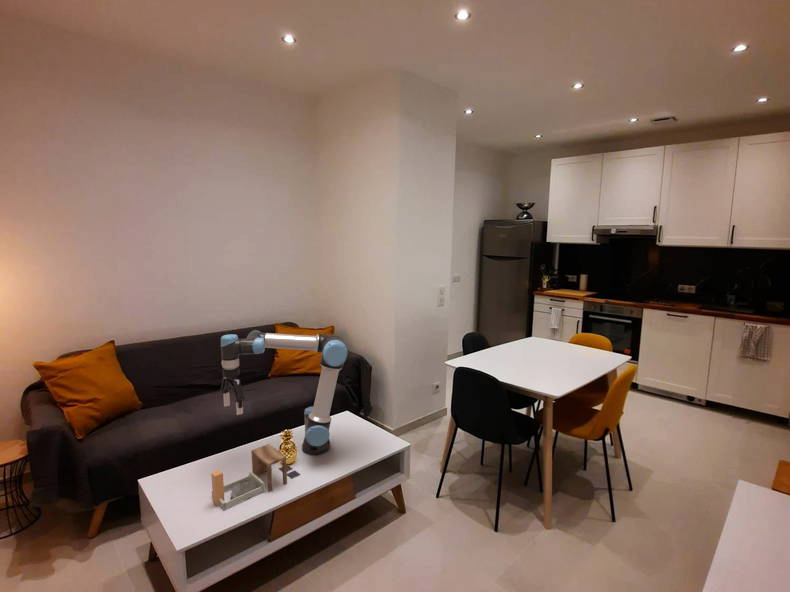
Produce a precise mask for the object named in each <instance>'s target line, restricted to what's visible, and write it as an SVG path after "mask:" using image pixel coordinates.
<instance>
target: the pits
mask: <svg viewBox="0 0 790 592" xmlns="http://www.w3.org/2000/svg"><path fill="white" fill-rule="evenodd" d="M293 469H294V468H293V467H291V466H290V465H289V466H287V478H289V477H290V478H289V479H291V480H293V479H294V477H295V478H296V477H300V476H301V473H299V472H298V471H296V470H293ZM278 470H279V471H280V472H282V473H283V471H282V466H281V467H279V468H278Z"/></svg>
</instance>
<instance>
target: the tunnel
mask: <svg viewBox="0 0 790 592" xmlns="http://www.w3.org/2000/svg"><path fill="white" fill-rule="evenodd" d="M280 462H281V463H282V465H281V467H282V471H283V472H282V471H281V472H282V485H283V486H286V485H288V476H287V474H288V471H287V466H286V465H287V456H286V455H285V454H283V453H282V452H281V451H279V450H278V449H276V448H275V447H274V446H273V445H271V444H270V443H268V444H265V445H263V446H260V447H257V448H255V449H252V450H251V470H252V472H253V473H254V474H255V475H256V476H257V477H258V478H259V477H260V476H262V475H264V474H267V491H268V493H272V491H273V473H272V469H273V468H272V465H275V464H278V463H280Z"/></svg>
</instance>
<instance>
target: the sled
mask: <svg viewBox="0 0 790 592" xmlns="http://www.w3.org/2000/svg"><path fill="white" fill-rule="evenodd" d="M248 473H249V474H248V475H247V476H244V477H242V478H240V479H237V480H235V481H232V482H230V483H228V484H225V485H224V473H223V471H222V470H220V469H217V470H215V471H212V472H211V473H210V474H211V489H212V491H211V497H212V503H213V504H214V506H220V507H221V508H222V509H223V510H226V509H228V508H230V507H232V506H235V505H236V504H237V505H238V504H239V503H242V502H243V501H246V499H247V500H249V499H250V497H251V498H253V497H254V496H256V495H259V494H260V493H263V492H265V482H264V481H263V480H262V479H261V478H260V477H259V476H258V477H257V476H256V475H255V474H254V473H253V472H252V471H249V472H248ZM242 480H250V481H252V482H253V483H254V484H256V489H254V490H252V491H250V492H248V493H245V494H243V495H241V496H239V497H236V498H234V499H232V500H231V499H230V500H228V501H225V492H227V491H229V490H232V488H233V487H234V485H236V484H237V483H238V482H240V481H242ZM248 498H249V499H248Z"/></svg>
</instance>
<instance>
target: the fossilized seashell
mask: <svg viewBox="0 0 790 592" xmlns="http://www.w3.org/2000/svg"><path fill="white" fill-rule="evenodd" d="M254 489H257V486H256V484H254V483H253V482H252V481H250V480H242V481H240V482H238V483H237V484H236V485H234V487H233V488H232V489H231V492H230V500H232V499H234V498H236V497H239V496H241V495H243V494H245V493H248V492H250V491H252V490H254ZM250 498H252V497H250ZM250 498H248V499H247V500H249V499H250Z"/></svg>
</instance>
